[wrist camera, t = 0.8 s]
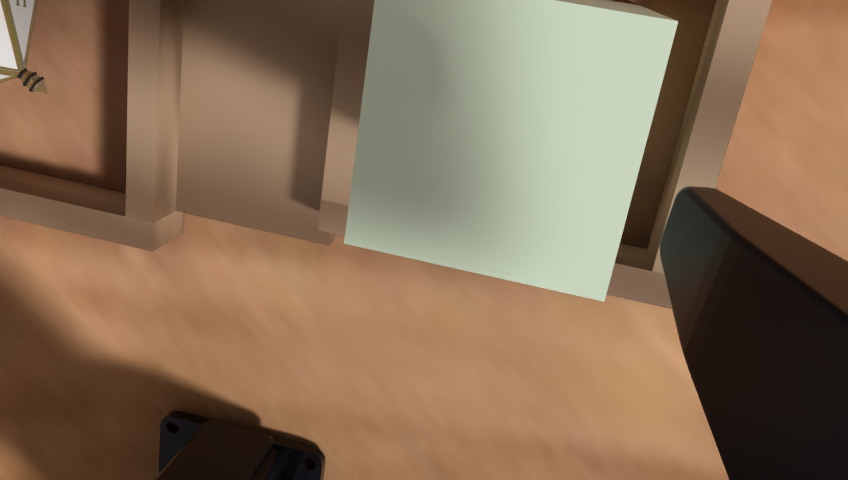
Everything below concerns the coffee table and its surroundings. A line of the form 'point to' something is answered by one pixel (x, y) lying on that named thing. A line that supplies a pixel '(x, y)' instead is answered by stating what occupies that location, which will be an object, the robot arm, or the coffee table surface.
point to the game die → (17, 42)
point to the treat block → (506, 135)
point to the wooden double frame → (311, 127)
